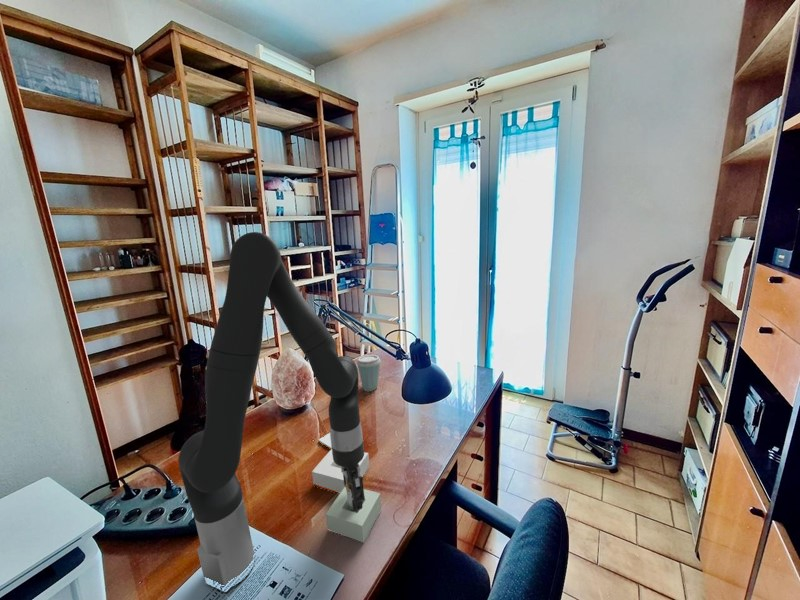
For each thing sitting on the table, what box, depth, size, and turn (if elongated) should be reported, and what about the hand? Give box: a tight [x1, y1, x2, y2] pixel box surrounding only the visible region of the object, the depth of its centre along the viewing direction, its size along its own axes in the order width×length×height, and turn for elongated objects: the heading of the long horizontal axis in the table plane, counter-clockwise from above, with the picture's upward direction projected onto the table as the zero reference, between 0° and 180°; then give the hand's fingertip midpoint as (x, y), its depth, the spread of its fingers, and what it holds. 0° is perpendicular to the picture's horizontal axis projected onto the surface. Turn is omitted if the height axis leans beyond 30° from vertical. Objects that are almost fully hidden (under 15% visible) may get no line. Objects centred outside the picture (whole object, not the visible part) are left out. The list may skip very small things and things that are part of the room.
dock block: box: [311, 449, 371, 492], centre depth 100 cm, size 12×12×5 cm
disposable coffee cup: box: [356, 354, 382, 392], centre depth 151 cm, size 11×11×15 cm
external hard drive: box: [318, 432, 332, 449], centre depth 119 cm, size 2×8×12 cm
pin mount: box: [325, 487, 382, 543], centre depth 85 cm, size 10×10×5 cm
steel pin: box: [346, 481, 359, 513], centre depth 85 cm, size 3×3×11 cm
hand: (353, 496), depth 84 cm, fingers open, 8 cm apart
